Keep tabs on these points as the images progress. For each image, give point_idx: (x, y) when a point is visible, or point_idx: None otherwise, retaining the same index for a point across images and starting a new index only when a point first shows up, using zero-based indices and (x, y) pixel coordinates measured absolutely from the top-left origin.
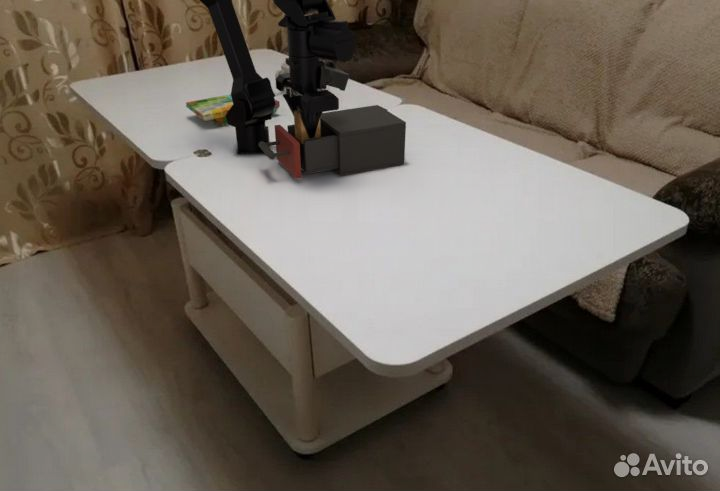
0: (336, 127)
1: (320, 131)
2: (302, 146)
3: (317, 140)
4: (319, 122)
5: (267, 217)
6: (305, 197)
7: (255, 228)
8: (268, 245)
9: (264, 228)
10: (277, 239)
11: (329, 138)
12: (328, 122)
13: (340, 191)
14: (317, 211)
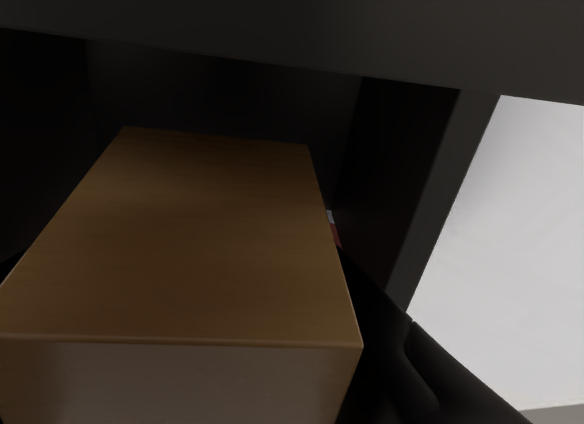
0: (455, 36)
1: (317, 186)
2: (79, 135)
3: (426, 256)
4: (332, 257)
5: (476, 360)
6: (463, 250)
7: (497, 388)
8: (578, 387)
9: (514, 376)
10: (577, 370)
11: (468, 161)
12: (199, 22)
13: (537, 120)
14: (569, 258)
